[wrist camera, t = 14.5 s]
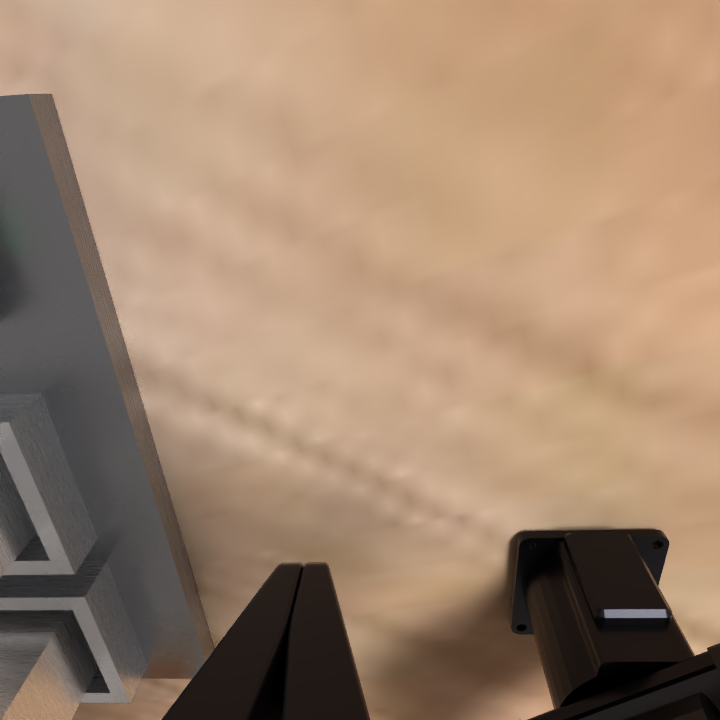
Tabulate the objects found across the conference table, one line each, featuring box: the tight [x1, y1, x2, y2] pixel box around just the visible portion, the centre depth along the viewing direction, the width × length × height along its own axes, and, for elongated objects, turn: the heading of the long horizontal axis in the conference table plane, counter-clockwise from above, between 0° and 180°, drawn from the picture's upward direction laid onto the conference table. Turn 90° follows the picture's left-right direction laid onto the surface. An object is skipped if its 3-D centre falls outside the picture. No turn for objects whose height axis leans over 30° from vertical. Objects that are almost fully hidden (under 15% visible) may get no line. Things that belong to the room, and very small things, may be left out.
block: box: [0, 610, 98, 720], centre depth 23 cm, size 4×4×7 cm
